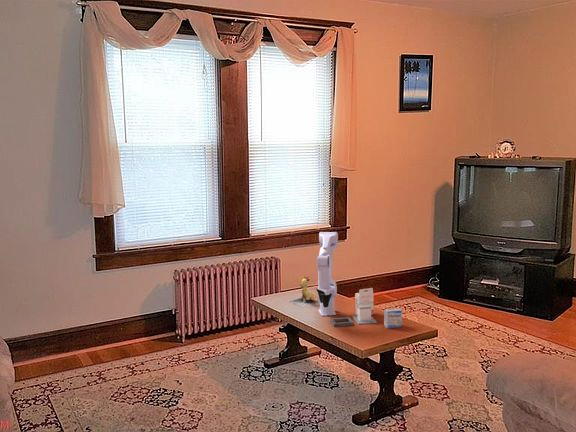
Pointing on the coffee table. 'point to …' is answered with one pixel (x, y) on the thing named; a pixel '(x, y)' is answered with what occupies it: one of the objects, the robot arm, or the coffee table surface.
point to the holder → (341, 322)
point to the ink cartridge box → (365, 299)
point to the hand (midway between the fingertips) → (324, 304)
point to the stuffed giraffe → (305, 295)
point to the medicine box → (393, 318)
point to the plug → (364, 312)
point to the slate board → (364, 321)
